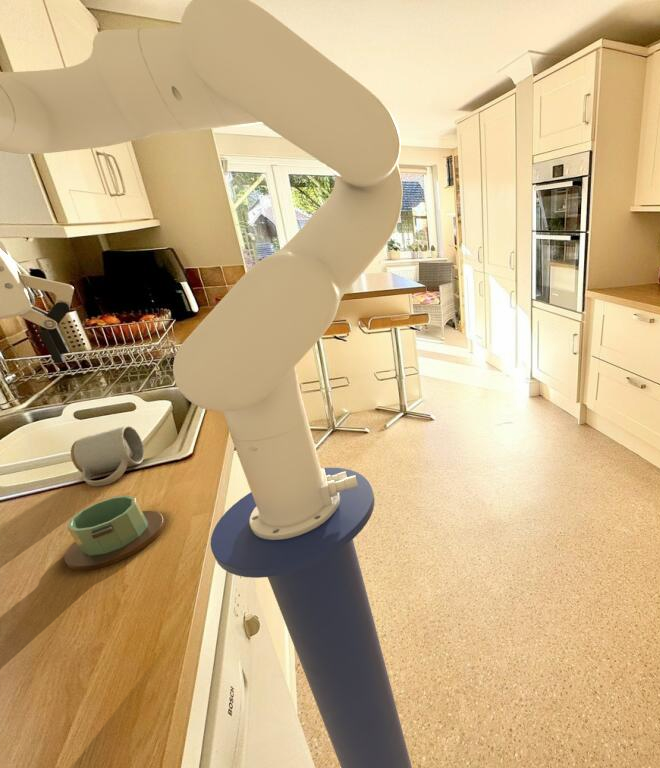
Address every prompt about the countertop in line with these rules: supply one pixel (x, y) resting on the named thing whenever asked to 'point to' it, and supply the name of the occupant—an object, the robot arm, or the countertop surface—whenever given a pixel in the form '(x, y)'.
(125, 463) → the ceramic mug
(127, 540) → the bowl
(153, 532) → the turntable
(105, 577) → the countertop surface
